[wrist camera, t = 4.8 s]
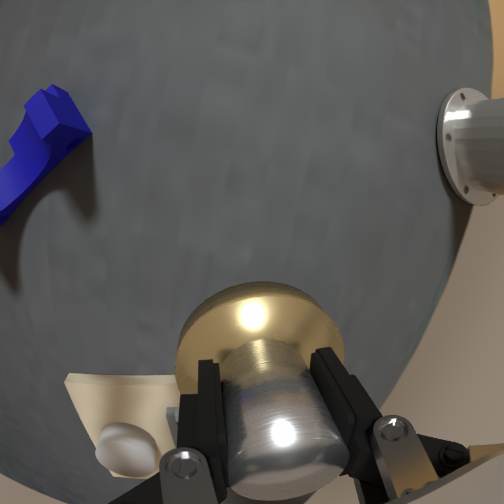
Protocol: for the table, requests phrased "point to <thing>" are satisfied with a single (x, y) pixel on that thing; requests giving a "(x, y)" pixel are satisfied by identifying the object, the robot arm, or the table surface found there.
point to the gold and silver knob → (267, 386)
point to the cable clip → (40, 145)
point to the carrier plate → (128, 419)
